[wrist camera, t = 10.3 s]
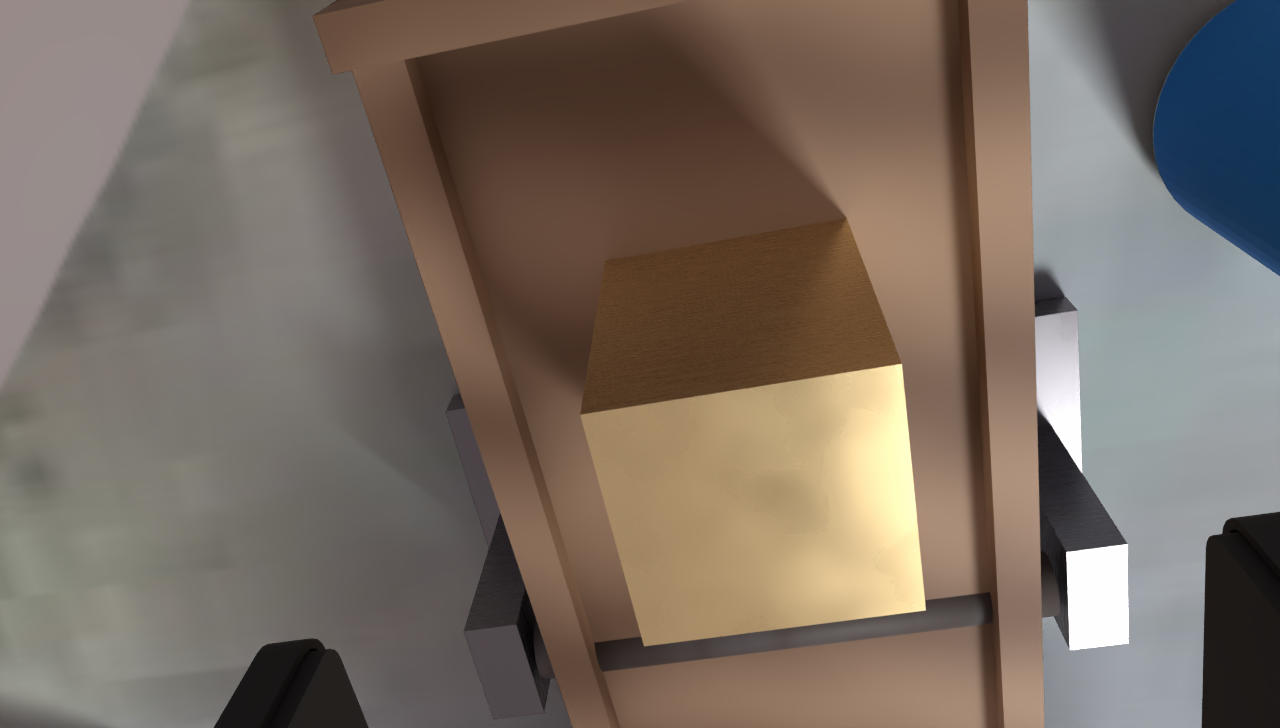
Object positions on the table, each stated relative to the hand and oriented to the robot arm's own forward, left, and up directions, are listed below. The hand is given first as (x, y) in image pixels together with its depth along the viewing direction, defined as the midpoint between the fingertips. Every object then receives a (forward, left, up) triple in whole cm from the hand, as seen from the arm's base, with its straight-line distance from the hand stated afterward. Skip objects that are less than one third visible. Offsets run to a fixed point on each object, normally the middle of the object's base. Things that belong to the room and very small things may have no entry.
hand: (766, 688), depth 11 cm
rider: (-1, -1, -12) cm, 12 cm away
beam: (-8, -6, -13) cm, 16 cm away
